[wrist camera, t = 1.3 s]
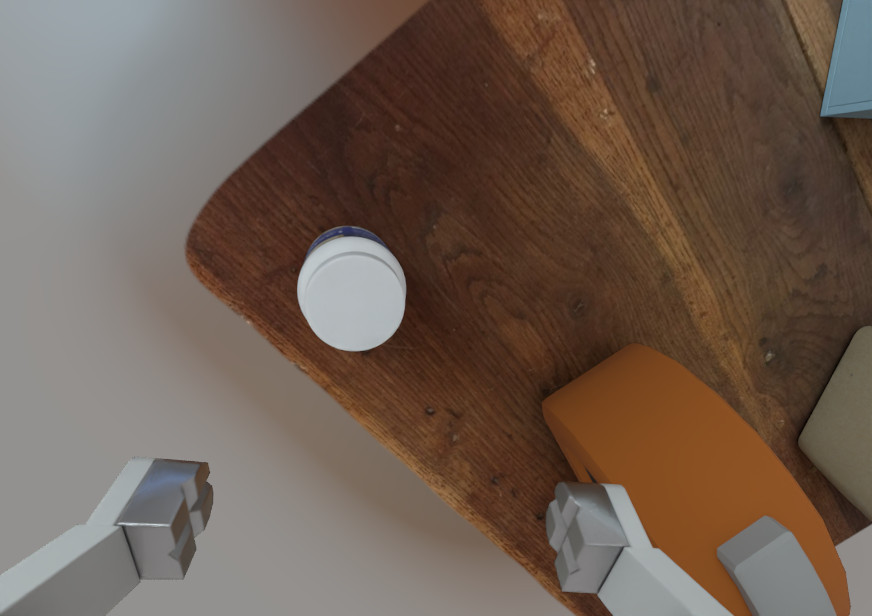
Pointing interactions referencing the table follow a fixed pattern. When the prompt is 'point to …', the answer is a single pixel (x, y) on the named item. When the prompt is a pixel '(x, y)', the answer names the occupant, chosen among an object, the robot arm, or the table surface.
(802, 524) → the alarm clock
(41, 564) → the robot arm
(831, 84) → the open box
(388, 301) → the pill bottle
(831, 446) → the flower pot
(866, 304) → the table surface
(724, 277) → the table surface
